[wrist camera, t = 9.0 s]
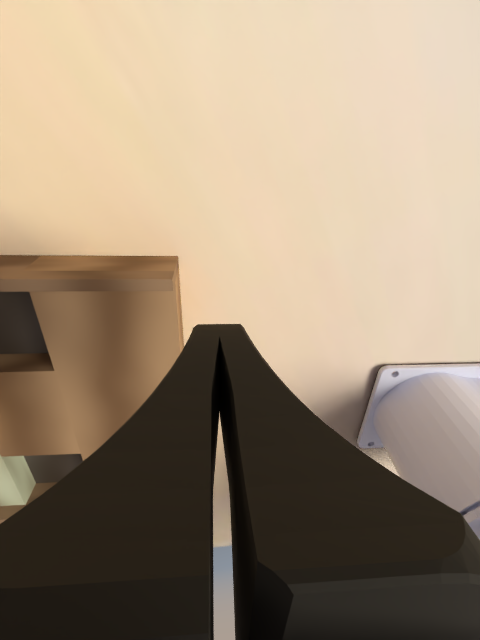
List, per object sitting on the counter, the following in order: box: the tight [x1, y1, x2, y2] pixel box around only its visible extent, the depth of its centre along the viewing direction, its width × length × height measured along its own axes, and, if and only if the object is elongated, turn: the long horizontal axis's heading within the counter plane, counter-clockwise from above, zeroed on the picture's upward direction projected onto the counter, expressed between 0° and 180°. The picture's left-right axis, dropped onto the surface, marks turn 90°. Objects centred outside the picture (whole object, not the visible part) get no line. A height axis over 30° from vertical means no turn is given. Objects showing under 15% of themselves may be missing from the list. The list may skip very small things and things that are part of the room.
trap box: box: [0, 255, 184, 524], centre depth 20 cm, size 20×19×4 cm
